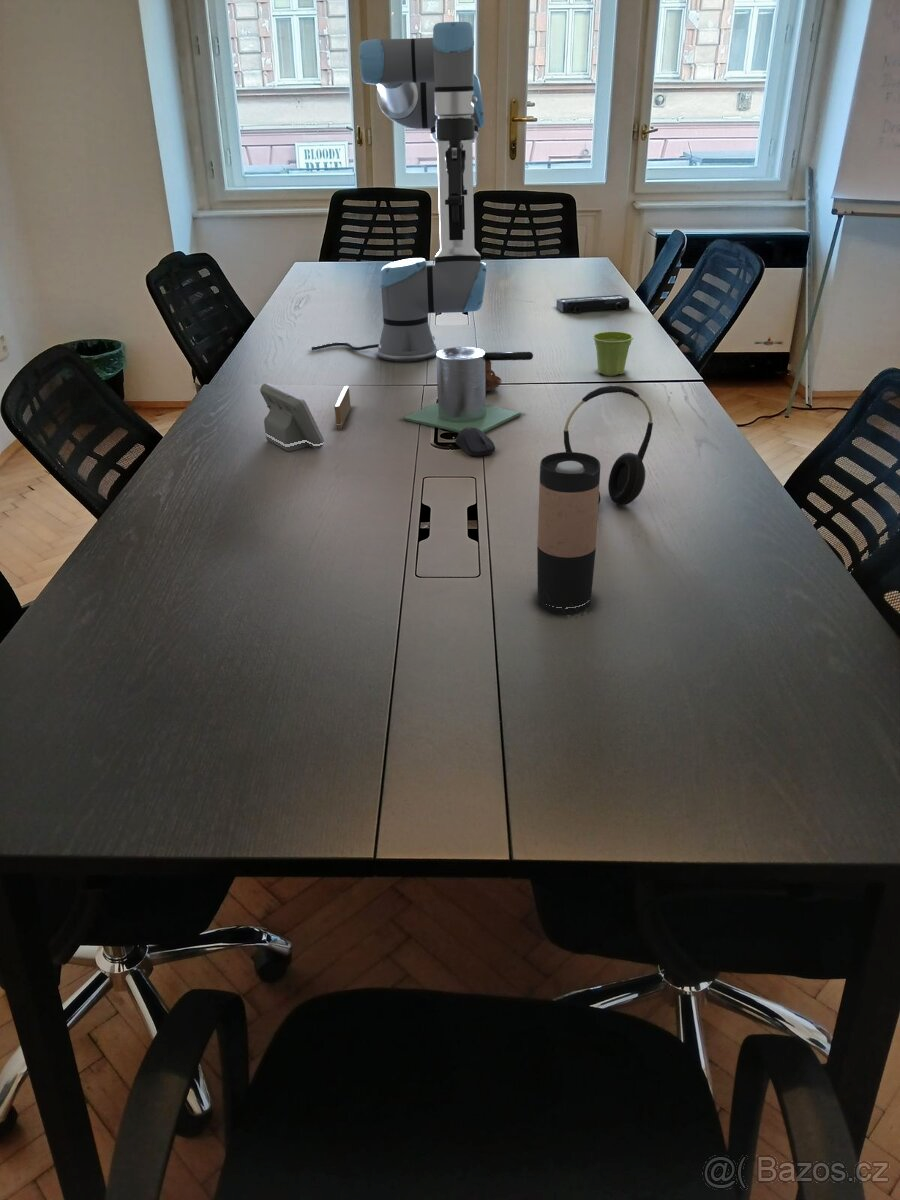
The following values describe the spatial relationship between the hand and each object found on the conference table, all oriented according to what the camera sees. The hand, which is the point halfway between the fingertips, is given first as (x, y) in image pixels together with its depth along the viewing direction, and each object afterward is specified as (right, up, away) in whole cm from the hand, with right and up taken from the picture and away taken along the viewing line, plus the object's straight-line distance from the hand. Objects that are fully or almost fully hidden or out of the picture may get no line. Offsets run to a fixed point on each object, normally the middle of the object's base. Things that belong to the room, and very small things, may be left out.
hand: (457, 234), depth 181 cm
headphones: (+24, -60, -35) cm, 73 cm away
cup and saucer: (+4, -26, +23) cm, 35 cm away
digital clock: (-33, -44, -4) cm, 55 cm away
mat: (+1, -36, +6) cm, 37 cm away
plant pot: (+37, -21, +31) cm, 53 cm away
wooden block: (-24, -36, +7) cm, 44 cm away
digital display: (+43, +15, +92) cm, 102 cm away
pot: (-5, -35, +5) cm, 36 cm away
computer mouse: (+3, -46, -11) cm, 48 cm away
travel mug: (+14, -76, -62) cm, 99 cm away
